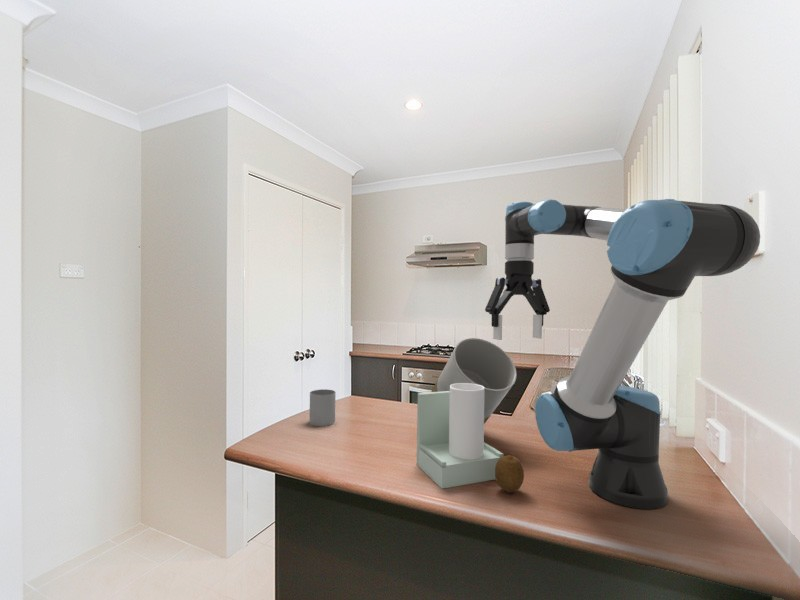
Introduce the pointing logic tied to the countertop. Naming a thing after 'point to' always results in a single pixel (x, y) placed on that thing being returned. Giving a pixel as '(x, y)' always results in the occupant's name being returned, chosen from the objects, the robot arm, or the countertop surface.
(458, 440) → the cup
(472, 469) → the mint green bookend
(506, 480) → the fruit
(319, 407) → the cup
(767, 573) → the countertop surface
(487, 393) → the planter
